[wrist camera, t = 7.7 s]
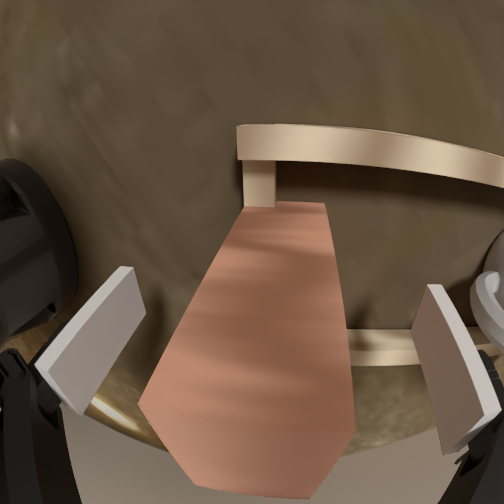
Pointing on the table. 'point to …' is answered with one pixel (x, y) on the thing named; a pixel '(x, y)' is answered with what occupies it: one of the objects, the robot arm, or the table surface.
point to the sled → (283, 323)
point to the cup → (491, 295)
